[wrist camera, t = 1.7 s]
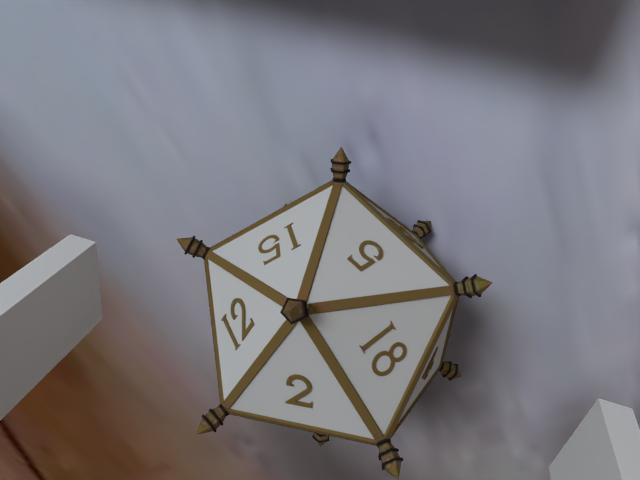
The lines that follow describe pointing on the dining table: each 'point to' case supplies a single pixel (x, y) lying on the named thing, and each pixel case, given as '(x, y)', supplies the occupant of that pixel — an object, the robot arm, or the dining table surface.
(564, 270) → the dining table surface
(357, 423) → the game die
